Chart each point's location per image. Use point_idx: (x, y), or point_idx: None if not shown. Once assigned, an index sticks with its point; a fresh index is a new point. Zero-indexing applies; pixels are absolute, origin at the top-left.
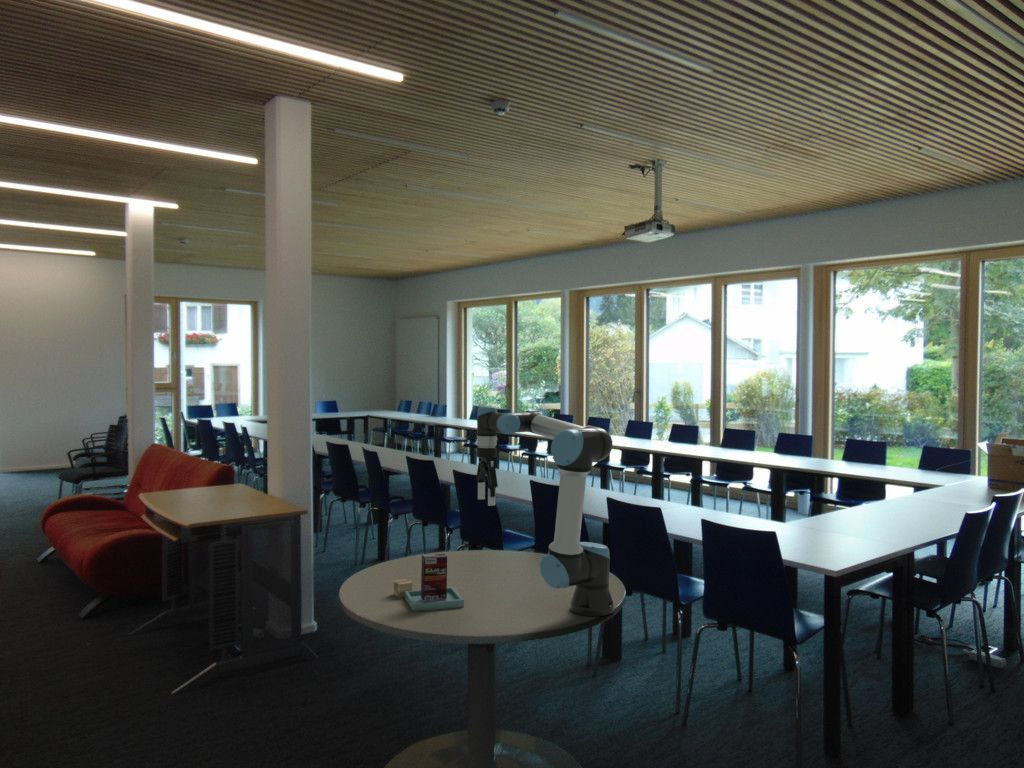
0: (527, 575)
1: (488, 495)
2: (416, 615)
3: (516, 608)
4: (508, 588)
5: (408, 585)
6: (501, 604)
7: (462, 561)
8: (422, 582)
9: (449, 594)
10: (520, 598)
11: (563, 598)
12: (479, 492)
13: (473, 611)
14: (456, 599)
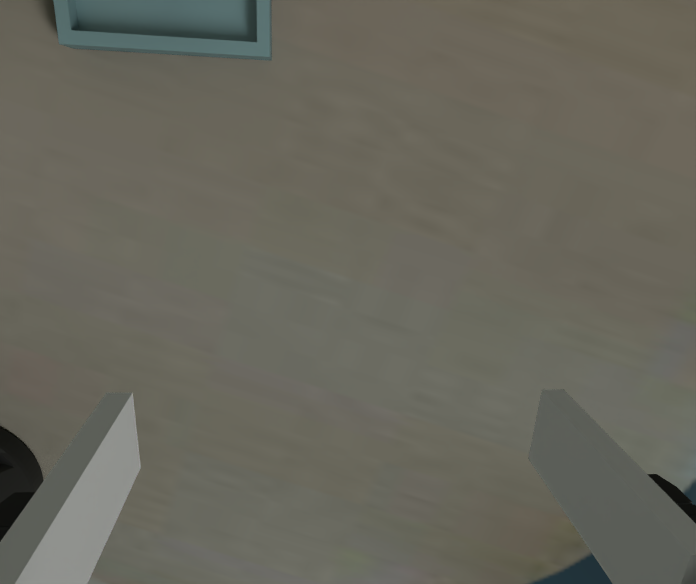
0: (407, 413)
1: (46, 481)
2: None
3: (18, 251)
4: (274, 302)
5: None
6: (79, 212)
7: (693, 247)
8: None
9: (222, 26)
10: (139, 304)
11: None
12: (585, 454)
13: (4, 69)
14: (140, 34)
